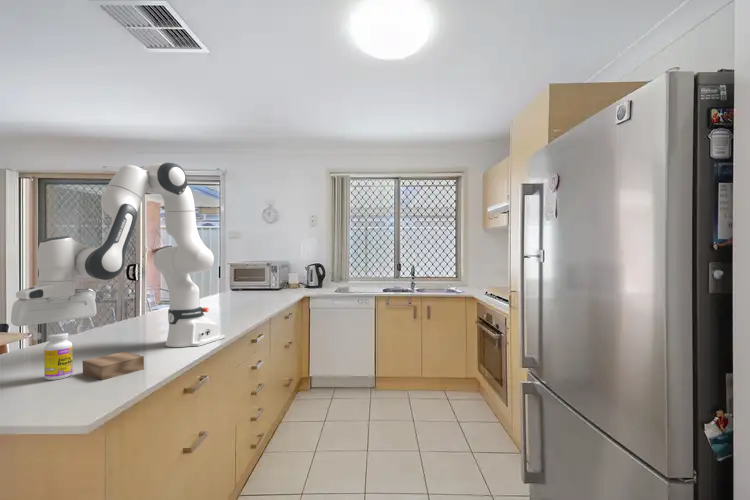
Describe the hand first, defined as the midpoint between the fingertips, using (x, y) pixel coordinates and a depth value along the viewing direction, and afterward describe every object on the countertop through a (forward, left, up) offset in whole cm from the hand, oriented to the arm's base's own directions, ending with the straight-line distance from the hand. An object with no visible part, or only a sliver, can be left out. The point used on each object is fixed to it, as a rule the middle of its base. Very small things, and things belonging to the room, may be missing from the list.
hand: (56, 336), depth 118 cm
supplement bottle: (0, 0, -13) cm, 13 cm away
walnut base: (-11, +9, -12) cm, 19 cm away
